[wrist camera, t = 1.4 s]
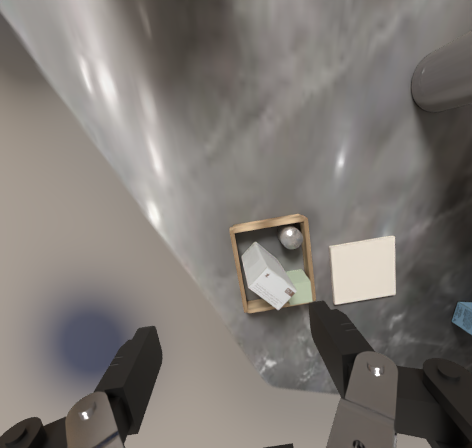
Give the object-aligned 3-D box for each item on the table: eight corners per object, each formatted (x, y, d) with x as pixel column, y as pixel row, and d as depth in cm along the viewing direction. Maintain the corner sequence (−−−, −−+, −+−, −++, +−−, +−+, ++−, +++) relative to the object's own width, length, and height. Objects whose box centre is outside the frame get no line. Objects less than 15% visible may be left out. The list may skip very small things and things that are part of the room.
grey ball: (295, 221, 44) (301, 227, 40) (297, 240, 45) (304, 247, 41) (275, 225, 44) (280, 230, 40) (278, 243, 45) (283, 250, 41)
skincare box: (240, 256, 45) (244, 289, 33) (255, 239, 44) (266, 265, 32) (264, 276, 46) (277, 313, 34) (280, 259, 45) (298, 291, 33)
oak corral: (302, 213, 43) (307, 216, 40) (310, 293, 47) (316, 302, 44) (229, 225, 43) (229, 229, 40) (243, 305, 47) (244, 314, 44)
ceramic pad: (391, 235, 45) (394, 236, 44) (392, 292, 48) (395, 294, 47) (328, 246, 45) (330, 247, 44) (333, 302, 48) (335, 304, 47)
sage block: (301, 269, 46) (310, 281, 41) (303, 287, 47) (312, 301, 42) (281, 272, 46) (287, 285, 41) (283, 291, 47) (290, 305, 42)
